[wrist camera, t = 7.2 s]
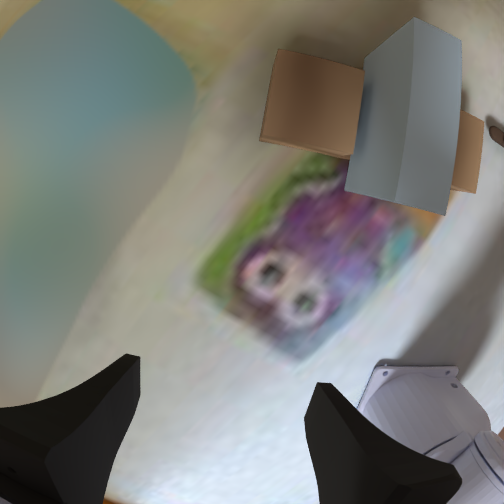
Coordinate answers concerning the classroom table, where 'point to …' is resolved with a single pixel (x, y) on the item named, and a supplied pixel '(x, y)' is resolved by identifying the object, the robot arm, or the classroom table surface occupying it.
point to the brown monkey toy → (497, 135)
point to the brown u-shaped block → (341, 113)
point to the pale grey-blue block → (409, 119)
